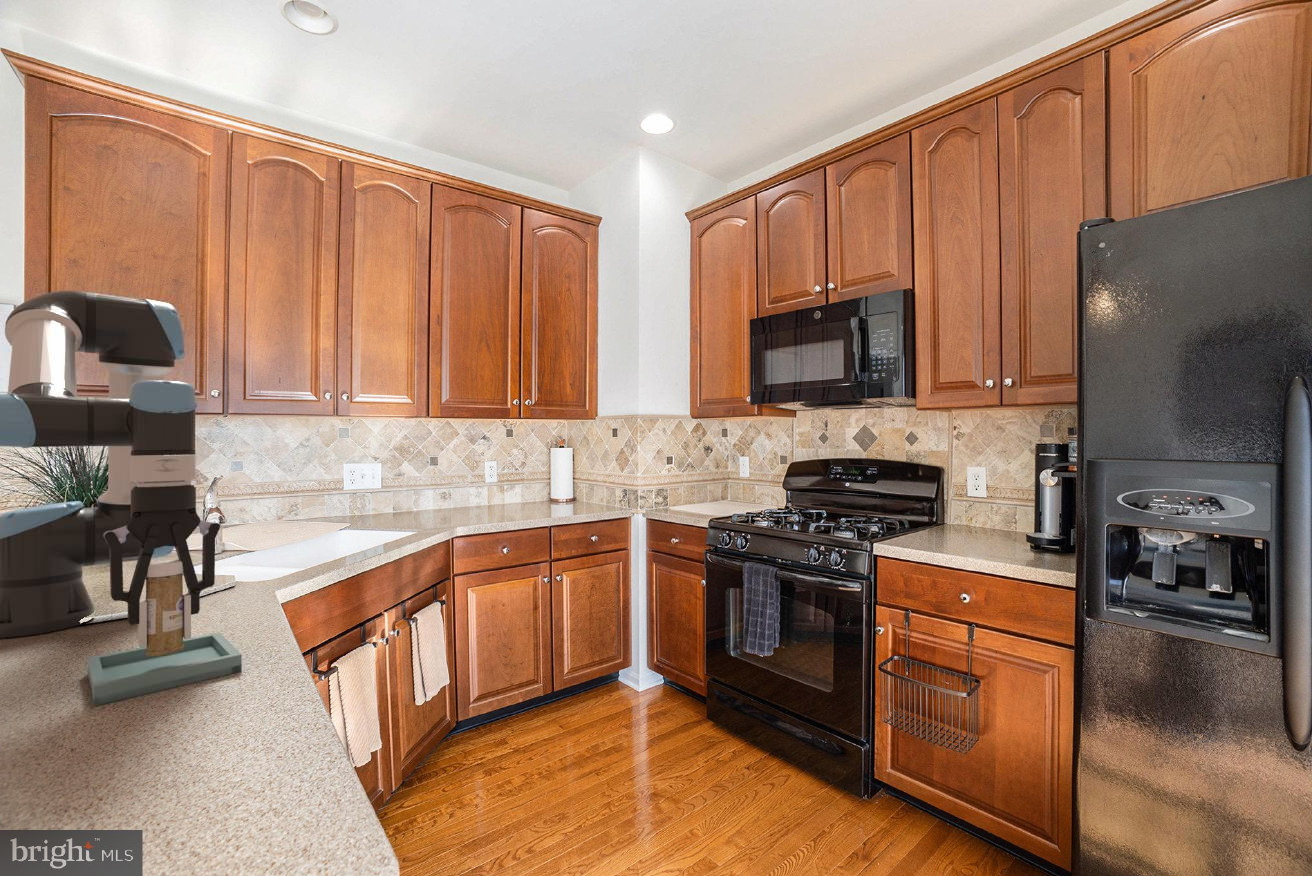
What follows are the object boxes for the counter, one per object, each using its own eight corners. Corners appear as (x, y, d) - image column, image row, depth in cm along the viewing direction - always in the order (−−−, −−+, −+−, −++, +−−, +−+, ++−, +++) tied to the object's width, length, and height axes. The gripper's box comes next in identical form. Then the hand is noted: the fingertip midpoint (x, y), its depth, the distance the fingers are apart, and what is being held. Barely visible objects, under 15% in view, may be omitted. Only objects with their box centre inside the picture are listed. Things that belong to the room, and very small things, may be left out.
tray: (87, 675, 88) (87, 658, 88) (219, 647, 99) (219, 632, 99) (93, 706, 77) (93, 687, 77) (241, 671, 88) (241, 654, 88)
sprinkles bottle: (182, 653, 87) (182, 562, 87) (141, 659, 85) (141, 565, 85) (186, 645, 91) (185, 557, 91) (147, 651, 88) (147, 561, 89)
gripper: (84, 488, 79) (84, 663, 79) (239, 481, 92) (240, 632, 92) (81, 487, 85) (82, 650, 84) (229, 480, 97) (230, 623, 97)
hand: (164, 640), depth 88 cm, fingers closed on sprinkles bottle, 4 cm apart
